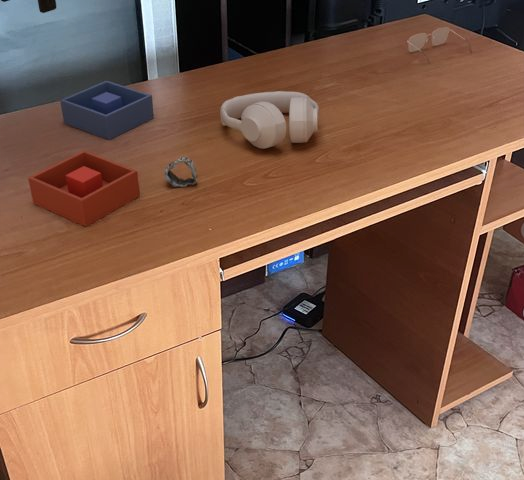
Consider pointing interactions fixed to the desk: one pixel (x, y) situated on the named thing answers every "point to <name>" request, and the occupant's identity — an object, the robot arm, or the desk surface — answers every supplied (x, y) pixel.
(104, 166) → the red bin
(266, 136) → the headphones
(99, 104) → the blue block
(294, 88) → the desk surface
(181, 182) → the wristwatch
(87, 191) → the red block
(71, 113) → the blue bin
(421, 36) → the eyeglasses
